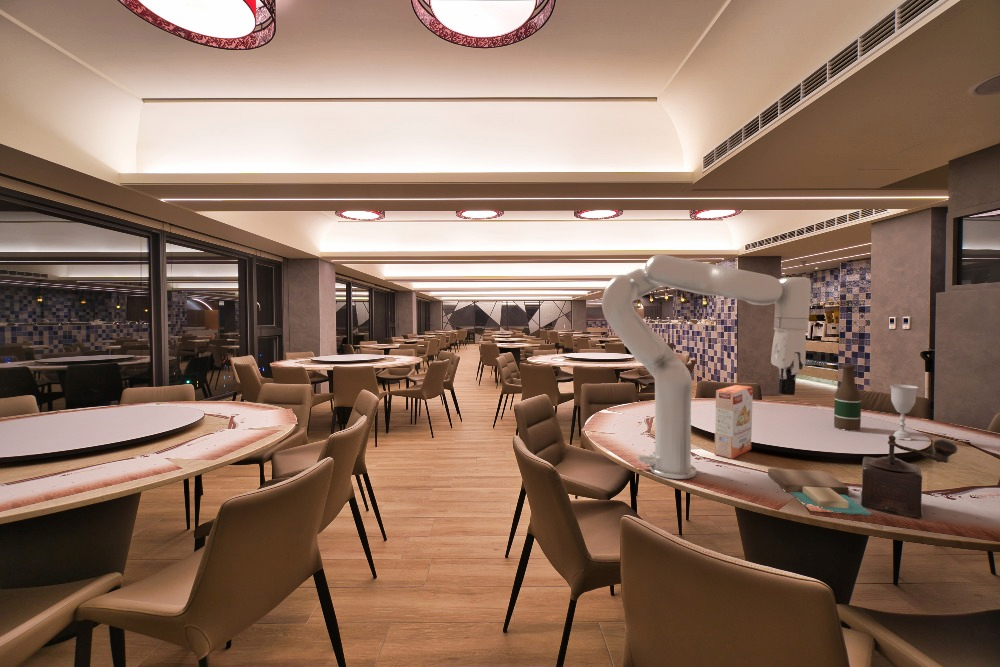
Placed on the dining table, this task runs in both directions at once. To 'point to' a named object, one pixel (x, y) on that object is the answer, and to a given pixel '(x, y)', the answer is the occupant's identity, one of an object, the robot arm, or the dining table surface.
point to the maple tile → (825, 497)
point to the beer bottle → (847, 402)
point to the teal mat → (852, 508)
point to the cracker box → (733, 421)
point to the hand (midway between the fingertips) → (786, 394)
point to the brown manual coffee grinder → (898, 479)
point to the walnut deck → (806, 480)
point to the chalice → (903, 404)
